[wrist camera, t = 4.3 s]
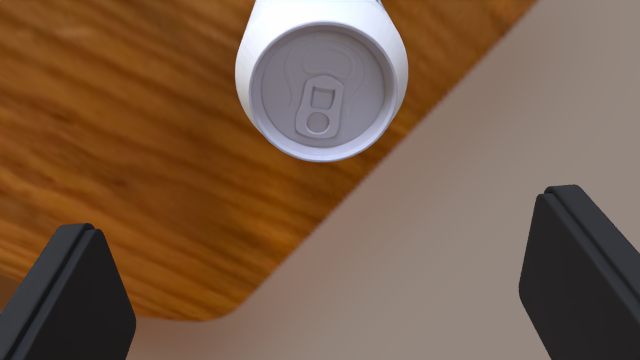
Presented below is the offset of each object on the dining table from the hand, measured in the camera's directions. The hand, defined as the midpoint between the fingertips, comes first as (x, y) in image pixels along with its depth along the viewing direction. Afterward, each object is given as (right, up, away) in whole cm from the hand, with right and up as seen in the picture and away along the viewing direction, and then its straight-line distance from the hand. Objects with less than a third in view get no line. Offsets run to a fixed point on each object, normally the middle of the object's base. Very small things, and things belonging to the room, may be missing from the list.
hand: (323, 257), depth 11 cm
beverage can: (0, +11, +18) cm, 21 cm away
